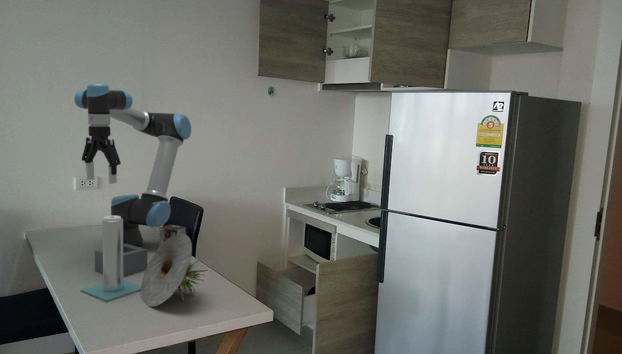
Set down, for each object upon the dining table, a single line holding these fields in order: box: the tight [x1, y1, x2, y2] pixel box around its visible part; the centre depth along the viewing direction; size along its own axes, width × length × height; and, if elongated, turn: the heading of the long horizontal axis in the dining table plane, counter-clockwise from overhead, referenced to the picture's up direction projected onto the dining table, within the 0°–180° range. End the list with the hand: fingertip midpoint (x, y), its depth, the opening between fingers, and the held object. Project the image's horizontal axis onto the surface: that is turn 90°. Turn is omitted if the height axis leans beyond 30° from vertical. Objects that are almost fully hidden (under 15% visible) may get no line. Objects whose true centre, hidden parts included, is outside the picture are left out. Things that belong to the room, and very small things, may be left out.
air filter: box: [102, 215, 125, 292], centre depth 158 cm, size 6×6×25 cm
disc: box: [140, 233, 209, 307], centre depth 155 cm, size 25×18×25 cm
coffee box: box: [159, 224, 188, 247], centre depth 186 cm, size 9×6×16 cm
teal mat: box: [80, 279, 141, 303], centre depth 159 cm, size 15×15×1 cm
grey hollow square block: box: [94, 244, 148, 277], centre depth 179 cm, size 14×14×8 cm
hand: (101, 181), depth 178 cm, fingers open, 13 cm apart
